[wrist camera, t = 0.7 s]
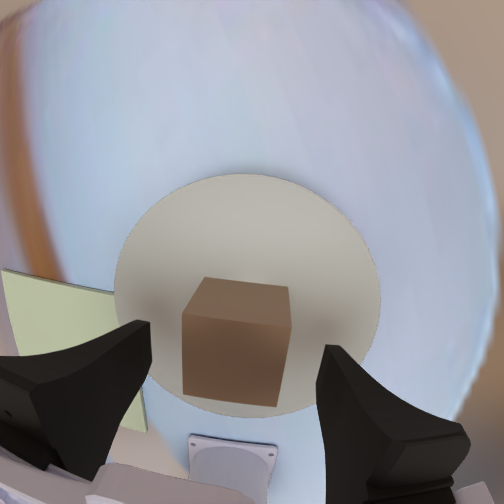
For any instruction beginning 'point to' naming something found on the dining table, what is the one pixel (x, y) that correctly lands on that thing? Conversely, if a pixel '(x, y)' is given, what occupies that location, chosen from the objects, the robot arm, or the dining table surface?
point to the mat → (62, 322)
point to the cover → (246, 292)
